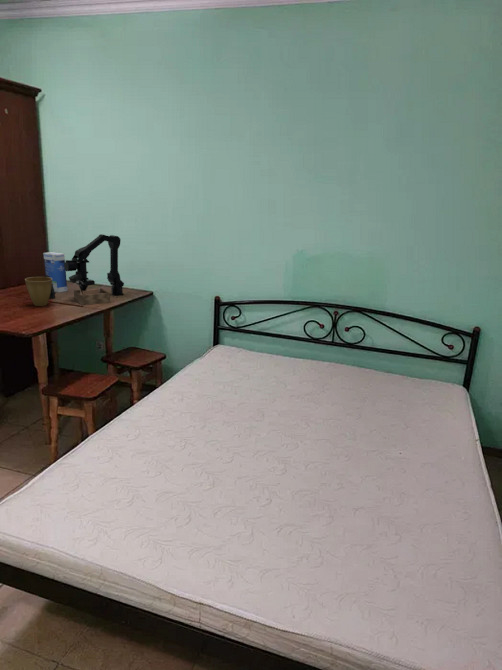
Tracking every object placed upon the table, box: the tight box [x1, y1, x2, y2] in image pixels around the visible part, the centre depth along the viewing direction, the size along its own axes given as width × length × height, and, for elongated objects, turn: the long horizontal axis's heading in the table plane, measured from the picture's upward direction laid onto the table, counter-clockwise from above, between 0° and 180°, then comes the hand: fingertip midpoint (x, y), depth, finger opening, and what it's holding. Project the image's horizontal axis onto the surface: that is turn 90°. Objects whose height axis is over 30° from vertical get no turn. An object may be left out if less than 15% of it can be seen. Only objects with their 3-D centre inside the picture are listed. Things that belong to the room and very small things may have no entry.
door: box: [81, 287, 101, 295], centre depth 304 cm, size 12×1×6 cm, turn 141°
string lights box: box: [42, 251, 68, 293], centre depth 319 cm, size 13×8×26 cm, turn 58°
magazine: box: [43, 274, 57, 300], centre depth 300 cm, size 4×13×15 cm, turn 92°
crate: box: [73, 287, 111, 306], centre depth 298 cm, size 18×16×6 cm
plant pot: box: [24, 276, 52, 307], centre depth 282 cm, size 15×15×16 cm
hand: (83, 293), depth 301 cm, fingers closed
